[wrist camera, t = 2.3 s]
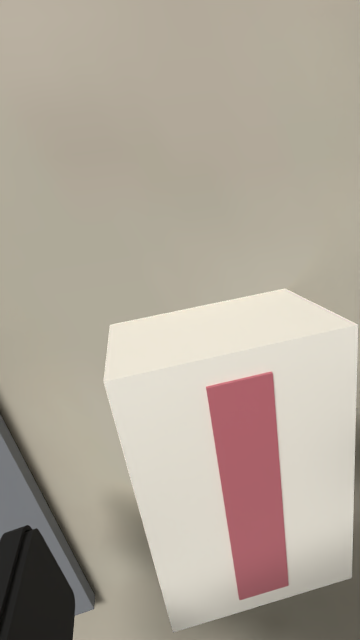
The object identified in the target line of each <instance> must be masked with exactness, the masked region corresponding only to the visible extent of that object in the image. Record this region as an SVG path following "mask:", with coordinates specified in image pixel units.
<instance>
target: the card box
mask: <svg viewBox="0 0 360 640" xmlns="http://www.w3.org/2000/svg"><path fill="white" fill-rule="evenodd" d="M357 348H358V324H356V323H354V322H352V321H350V320H348V319H346V318H344V317H342V316H340V315H338V314H336V313H333V312H331V311H329V310H327V309H325V308H323V307H321V306H319V305H317V304H315V303H313V302H311V301H309V300H307V299H305V298H303V297H301V296H299V295H297V294H295V293H293V292H291V291H289V290H287V289H280V290H276V291H271V292H266V293H261V294H256V295H251V296H247V297H242V298H237V299H232V300H227V301H223V302H218V303H213V304H208V305H203V306H198V307H194V308H189V309H184V310H179V311H174V312H169V313H165V314H160V315H155V316H150V317H145V318H141V319H136V320H131V321H126V322H121V323H116V324H112V325H110V328H109V337H108V346H107V355H106V364H105V373H104V385H105V389H106V392H107V396H108V400H109V403H110V407H111V410H112V414H113V418H114V421H115V425H116V428H117V432H118V436H119V439H120V443H121V446H122V450H123V454H124V457H125V461H126V465H127V468H128V472H129V475H130V479H131V483H132V486H133V490H134V493H135V497H136V501H137V504H138V508H139V511H140V515H141V519H142V522H143V526H144V530H145V533H146V537H147V540H148V544H149V548H150V551H151V555H152V558H153V562H154V566H155V569H156V573H157V576H158V580H159V584H160V587H161V591H162V594H163V598H164V602H165V605H166V609H167V613H168V616H169V620H170V623H171V627H172V631H173V632H177V631H180V630H183V629H187V628H190V627H193V626H196V625H200V624H203V623H206V622H209V621H213V620H216V619H219V618H223V617H226V616H229V615H232V614H236V613H239V612H242V611H245V610H249V609H252V608H255V607H259V606H262V605H265V604H268V603H272V602H275V601H278V600H281V599H285V598H288V597H291V596H295V595H298V594H301V593H304V592H308V591H311V590H314V589H317V588H321V587H324V586H327V585H331V584H334V583H337V582H340V581H344V580H347V579H350V578H352V552H353V511H354V470H355V429H356V389H357Z"/></svg>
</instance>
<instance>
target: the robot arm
mask: <svg viewBox="0 0 360 640" xmlns="http://www.w3.org/2000/svg"><path fill="white" fill-rule="evenodd" d="M74 616H75V597H74V593H73V590H72V588H71V587H70V585H69V583H68V581H67V579H66V578H65V576H64V574H63V572H62V570H61V569H60V567H59V565H58V563H57V562H56V560H55V558H54V556H53V554H52V553H51V551H50V549H49V547H48V545H47V544H46V542H45V540H44V538H43V536H42V535H41V533H40V531H39V530H38V529H37V528H36V529H32V528H31V527H30V526H29V525H26V526H23V527H20V528H17V529H15V530H12V531H9V532H6V533H4V534H3V535H2V537H1V540H0V640H72V639H73V628H74Z"/></svg>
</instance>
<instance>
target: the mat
mask: <svg viewBox="0 0 360 640" xmlns="http://www.w3.org/2000/svg"><path fill="white" fill-rule="evenodd" d="M26 525H29V526H30V527H31V528H32V529H36V528H37V529H38V530H39V531H40V533H41V535H42V536H43V538H44V540H45V542H46V544H47V545H48V547H49V549H50V551H51V553H52V554H53V556H54V558H55V560H56V562H57V563H58V565H59V567H60V569H61V570H62V572H63V574H64V576H65V578H66V579H67V581H68V583H69V585H70V587H71V588H72V590H73V593H74V597H75V615H78V614H81V613H84V612H87V611H90V610H93V609H94V603H95V595H94V593H93V591H92V589H91V587H90V585H89V583H88V582H87V580H86V578H85V576H84V574H83V572H82V570H81V568H80V566H79V564H78V562H77V560H76V559H75V557H74V555H73V553H72V551H71V549H70V547H69V545H68V543H67V541H66V539H65V537H64V535H63V534H62V532H61V530H60V528H59V526H58V524H57V522H56V520H55V518H54V516H53V514H52V512H51V511H50V509H49V507H48V505H47V503H46V501H45V499H44V497H43V495H42V493H41V491H40V489H39V487H38V486H37V484H36V482H35V480H34V478H33V476H32V474H31V472H30V470H29V468H28V466H27V464H26V463H25V461H24V459H23V457H22V455H21V453H20V451H19V449H18V447H17V445H16V443H15V441H14V439H13V438H12V436H11V434H10V432H9V430H8V428H7V426H6V424H5V422H4V420H3V418H2V416H1V415H0V540H1V537H2V535H3V534H4V533H6V532H9V531H12V530H15V529H17V528H20V527H23V526H26Z"/></svg>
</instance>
